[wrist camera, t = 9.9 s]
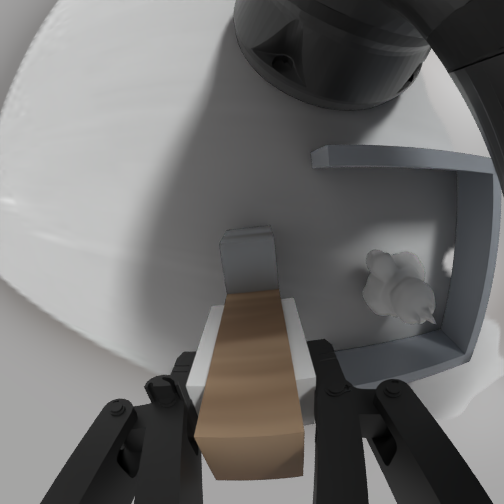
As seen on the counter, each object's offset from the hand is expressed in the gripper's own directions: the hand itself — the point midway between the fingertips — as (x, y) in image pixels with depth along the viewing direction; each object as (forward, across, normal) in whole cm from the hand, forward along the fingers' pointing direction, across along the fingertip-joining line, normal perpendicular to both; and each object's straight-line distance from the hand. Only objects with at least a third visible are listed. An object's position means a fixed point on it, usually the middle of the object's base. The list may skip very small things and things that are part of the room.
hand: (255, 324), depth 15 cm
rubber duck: (+7, +11, -1) cm, 13 cm away
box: (+7, +12, 0) cm, 14 cm away
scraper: (+5, 0, 0) cm, 5 cm away
